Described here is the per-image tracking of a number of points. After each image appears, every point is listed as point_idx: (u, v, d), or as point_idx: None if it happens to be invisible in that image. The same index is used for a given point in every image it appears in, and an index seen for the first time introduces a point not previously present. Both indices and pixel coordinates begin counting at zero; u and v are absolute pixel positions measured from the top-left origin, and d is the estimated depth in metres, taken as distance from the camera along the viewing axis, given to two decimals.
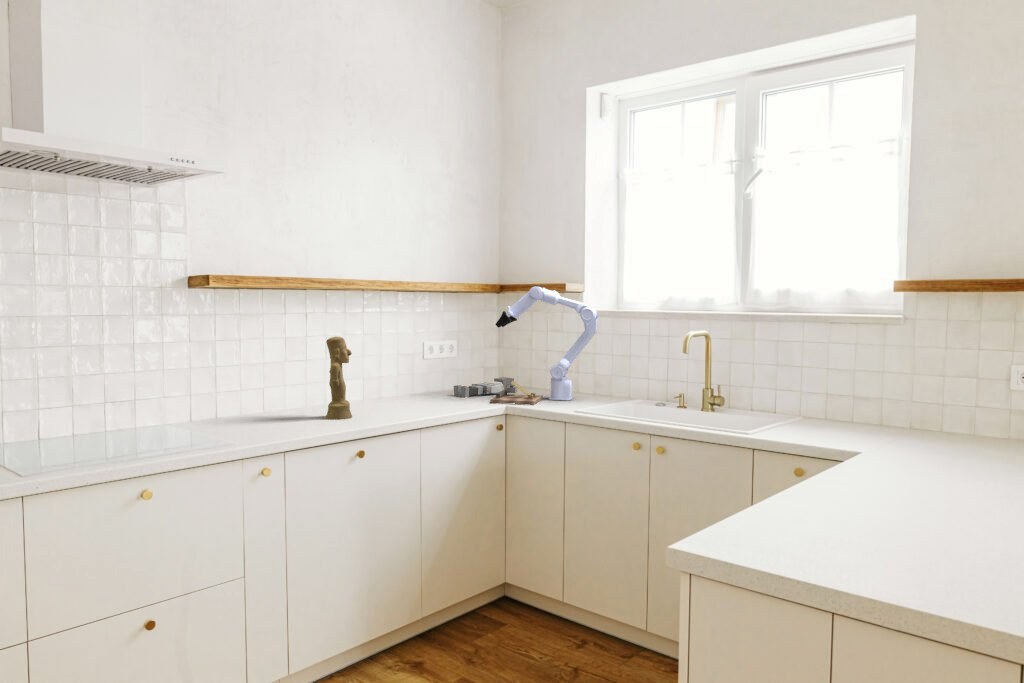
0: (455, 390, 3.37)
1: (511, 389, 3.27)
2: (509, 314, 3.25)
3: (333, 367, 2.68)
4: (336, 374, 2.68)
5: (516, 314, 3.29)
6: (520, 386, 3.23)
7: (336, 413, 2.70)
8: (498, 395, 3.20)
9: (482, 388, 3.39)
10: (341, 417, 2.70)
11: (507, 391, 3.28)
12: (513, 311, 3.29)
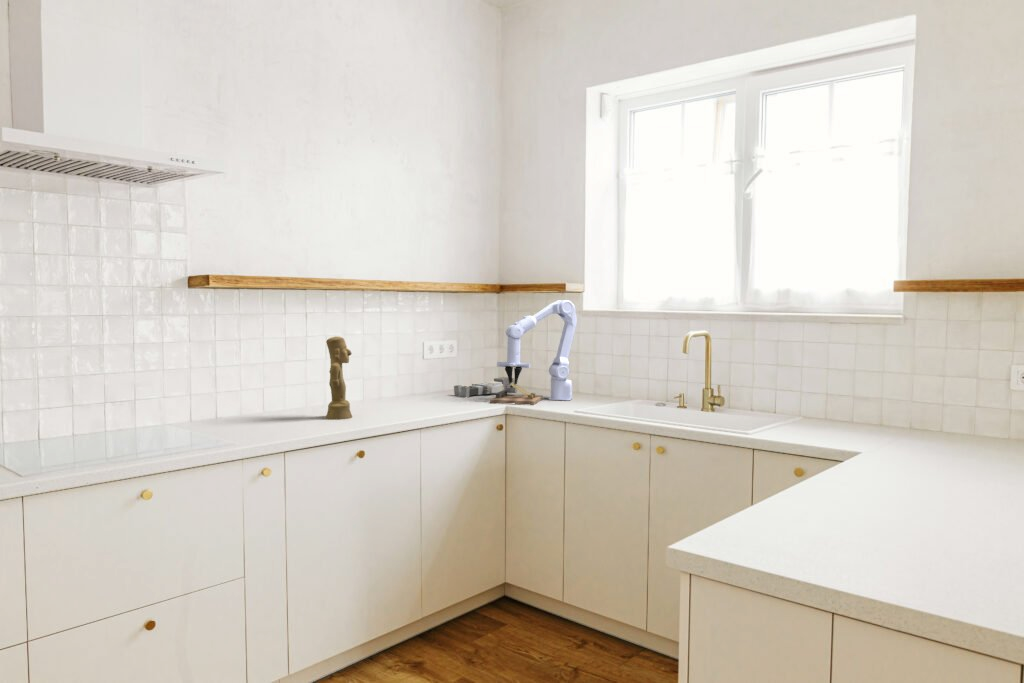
0: (455, 390, 3.38)
1: (511, 389, 3.27)
2: None
3: (333, 367, 2.68)
4: (336, 374, 2.68)
5: None
6: (519, 387, 3.23)
7: (336, 413, 2.70)
8: (498, 395, 3.20)
9: (482, 388, 3.40)
10: (341, 417, 2.70)
11: (507, 391, 3.28)
12: (519, 361, 3.21)
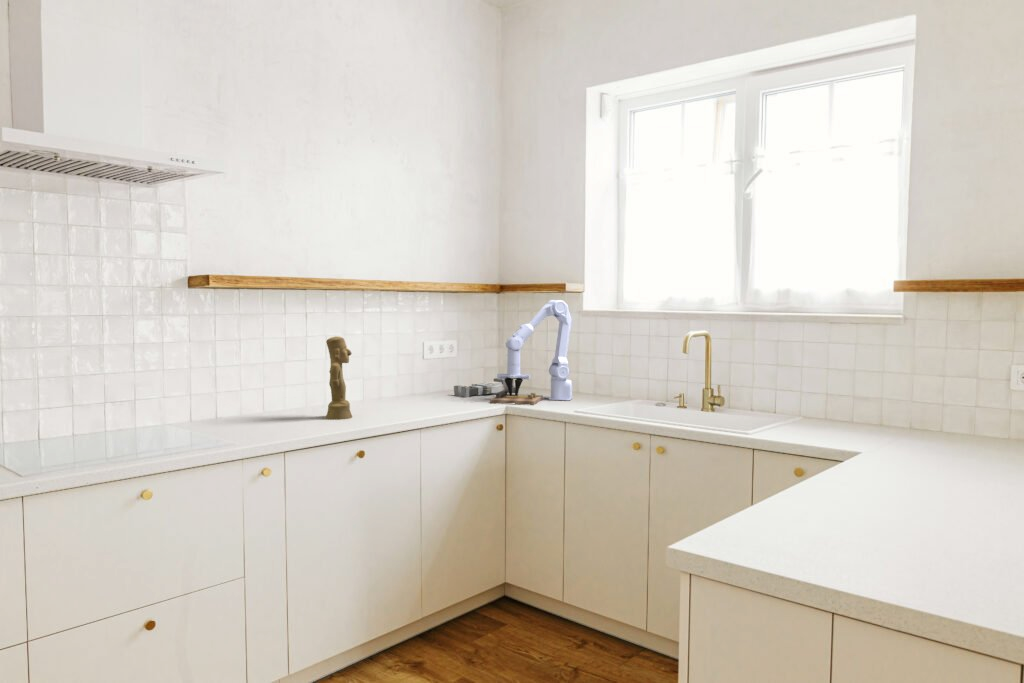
0: (455, 390, 3.38)
1: None
2: (530, 376, 3.20)
3: (333, 367, 2.68)
4: (336, 374, 2.68)
5: None
6: None
7: (336, 413, 2.70)
8: (498, 395, 3.20)
9: (482, 388, 3.40)
10: (341, 417, 2.70)
11: (507, 391, 3.28)
12: None
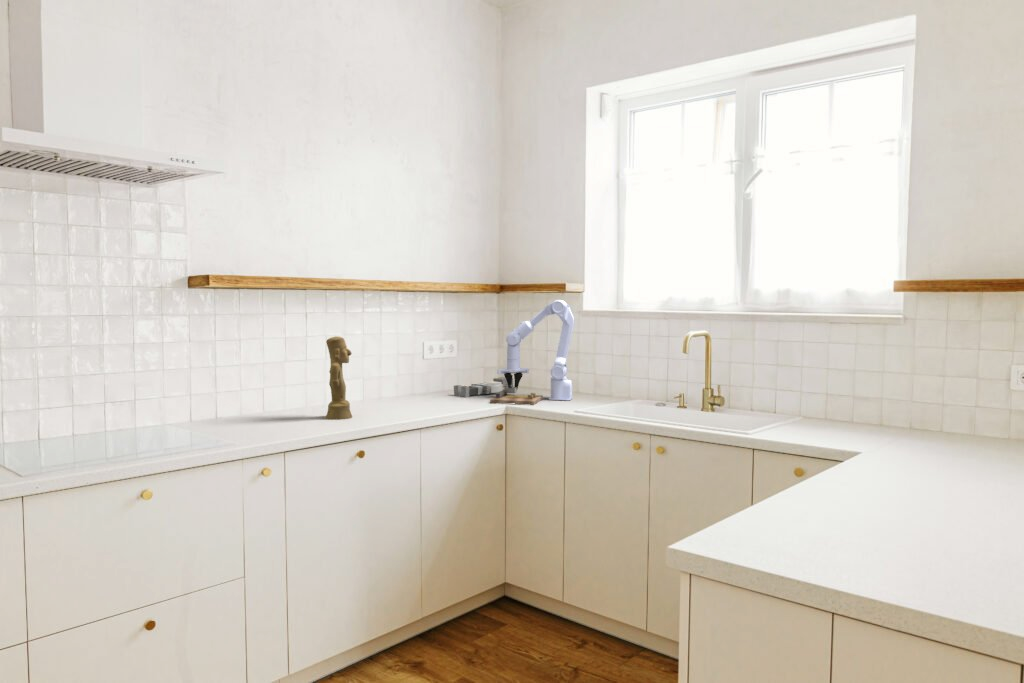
0: (455, 390, 3.38)
1: (510, 389, 3.26)
2: None
3: (333, 367, 2.68)
4: (336, 374, 2.68)
5: None
6: (516, 395, 3.23)
7: (336, 413, 2.70)
8: (498, 395, 3.20)
9: (482, 388, 3.41)
10: (341, 417, 2.70)
11: (506, 391, 3.27)
12: None
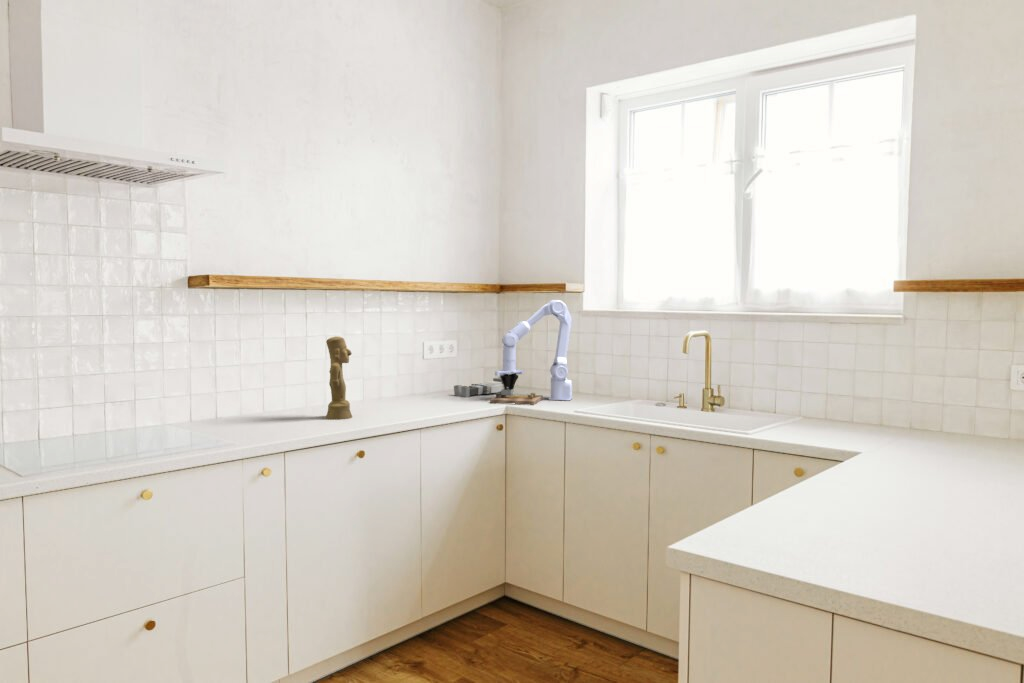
0: (455, 390, 3.38)
1: (507, 391, 3.19)
2: None
3: (333, 367, 2.68)
4: (336, 374, 2.68)
5: None
6: (516, 395, 3.23)
7: (336, 413, 2.70)
8: (498, 395, 3.20)
9: (482, 388, 3.41)
10: (341, 417, 2.70)
11: (502, 393, 3.20)
12: None
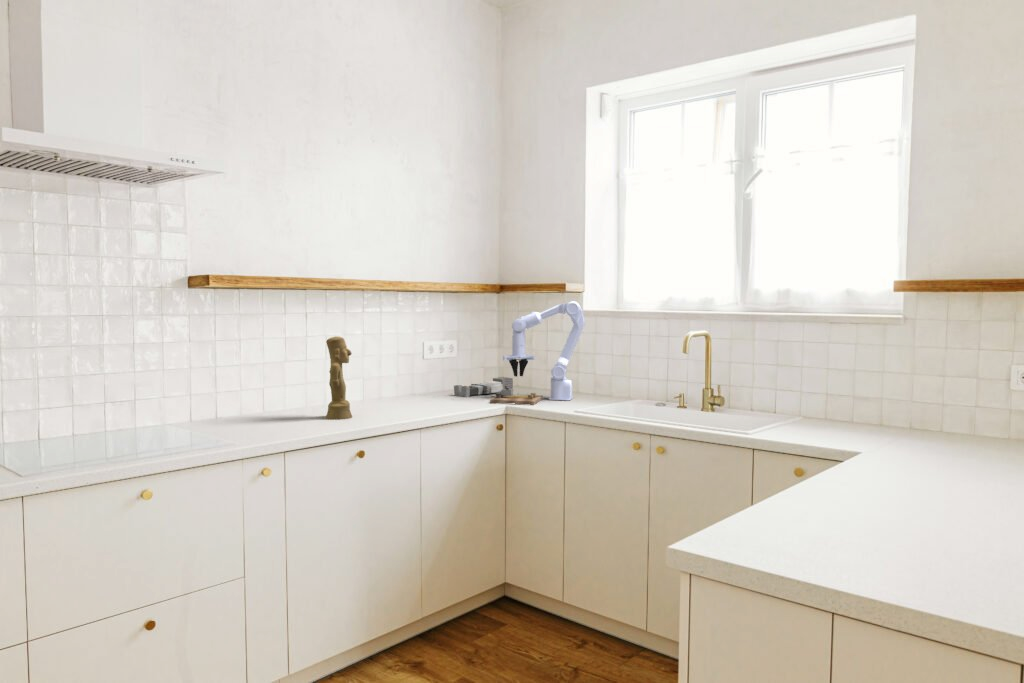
0: (455, 390, 3.39)
1: (507, 391, 3.20)
2: None
3: (333, 367, 2.68)
4: (336, 374, 2.68)
5: None
6: (516, 395, 3.23)
7: (336, 413, 2.70)
8: (498, 395, 3.20)
9: (482, 388, 3.41)
10: (341, 417, 2.70)
11: (503, 393, 3.20)
12: None
